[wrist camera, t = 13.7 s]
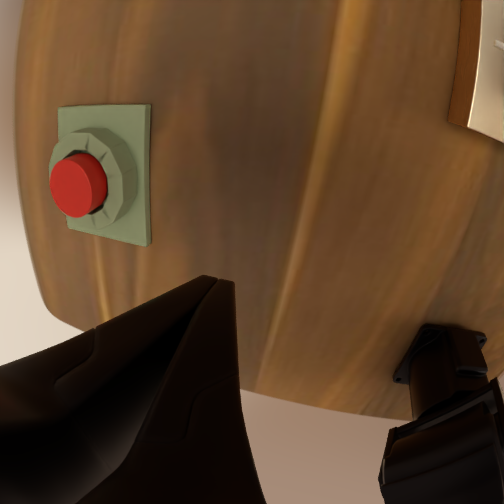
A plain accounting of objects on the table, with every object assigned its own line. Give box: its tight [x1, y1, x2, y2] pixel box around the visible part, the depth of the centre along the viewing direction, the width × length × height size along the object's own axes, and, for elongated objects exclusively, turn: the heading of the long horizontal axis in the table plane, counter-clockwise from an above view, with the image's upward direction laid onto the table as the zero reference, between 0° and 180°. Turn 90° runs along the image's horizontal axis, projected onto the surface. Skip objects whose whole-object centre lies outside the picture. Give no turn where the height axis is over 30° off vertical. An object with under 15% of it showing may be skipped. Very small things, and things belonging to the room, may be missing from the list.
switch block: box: [49, 104, 151, 247], centre depth 20 cm, size 10×8×2 cm
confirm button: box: [50, 153, 108, 218], centre depth 18 cm, size 4×4×2 cm
